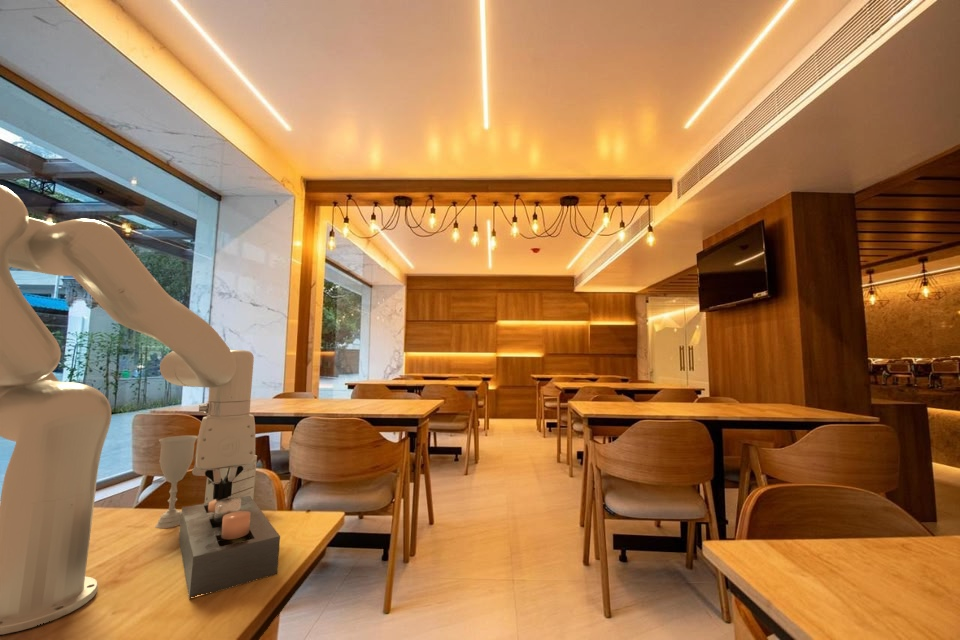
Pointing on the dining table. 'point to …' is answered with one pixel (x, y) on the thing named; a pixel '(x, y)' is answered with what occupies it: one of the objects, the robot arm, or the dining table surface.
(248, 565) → the knob housing
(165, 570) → the dining table surface
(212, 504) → the far knob
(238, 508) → the middle knob
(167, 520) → the chalice
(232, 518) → the near knob
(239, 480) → the supplement box
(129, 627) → the dining table surface
